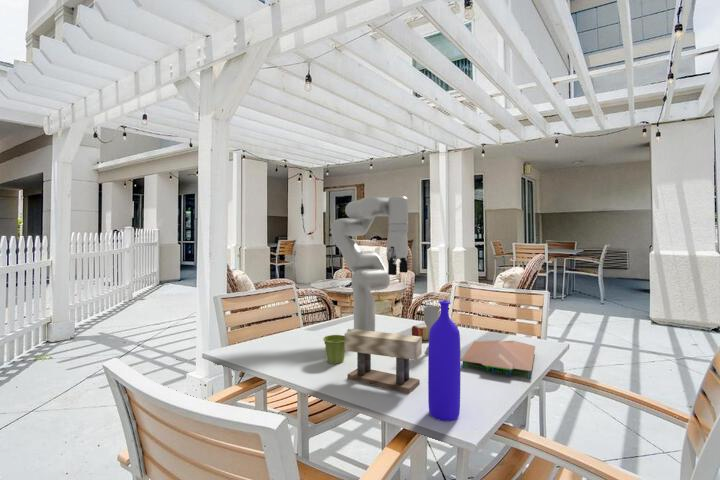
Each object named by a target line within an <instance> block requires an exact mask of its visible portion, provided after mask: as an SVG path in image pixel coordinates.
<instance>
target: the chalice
mask: <svg viewBox="0 0 720 480" xmlns="http://www.w3.org/2000/svg"><path fill="white" fill-rule="evenodd" d="M422 309H423V321H424V323H425V324H424V325H426V326H427V329H428V330H429V331H430V328H431V327H432V325H433V324H434V323H435V322H436V321H437V320H438V318H439V317H440V313H439V312H440V311H441V306H440V307H439V306H435V305H426V306H422ZM428 351H429V345H428V346H427V347H426V349H425V351H424V353H425V354H426V355H428Z"/></svg>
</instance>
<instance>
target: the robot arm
mask: <svg viewBox="0 0 720 480" xmlns="http://www.w3.org/2000/svg"><path fill="white" fill-rule="evenodd" d="M344 210H345V215H346V216H347V217H345V218H344V217H343V218H337V219H336V220H333V221H332V222H331V226H330V233H331V237H332V240H333V242H334V244H335V245H336V247H337V248H338V250H339V251H340V253H341V255H342V258H343V260H344V261H345V264H346V266H347V268H348V269H349V271H351V272H352V275H351V280H350V281H351V286H352V295H353V296H352V297H353V328H352V329H357V330H366V331H375V332H376V299H375V297H374V296H373V294H372V292H373V291H381V290H386V289H387V288H389V286H390V283H391V277H390V275H391V276H396V275H397V271H398V269H397V267H399V273H403V274H404V273H406V274H407V273H408V261H409V253H410V252H409V243H408V242H409V239H408V233H409V199H408V197H406V196H403V195H401V196H400V195H399V196H397V195H395V196H394V195H393V196H390V197H383V196H368V197H363V198H361V199H360V200H359V199H358V200H353V201H350V202H348V203H347V204H346V205H345V209H344ZM376 217H388V219H387V220H388V221H387V222H388V223H387V224H388V225H387V227H388V230H387V232H388V233H387V239H386V261H387V265H388V268H386V266H385V265H384V263H383V260H382V259H381V257H380V255H379V254H378V253H377V252H375V251H370V250H367V251H366V250H365V251H363V250H361V249H360V247H359V245H358V243H357V242H356V241H355V240H354V239H352V238H351V237H362V236H365V235H366V234H367V232H368V231H369V229H370V228H371V226H372V224H373V223H374V220H375V218H376ZM398 259H399V266H397V261H398ZM387 269H388V270H387ZM352 329H351V328H348V329H347V331H346V333H347V332H349V331H350V330H352Z"/></svg>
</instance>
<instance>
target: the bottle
mask: <svg viewBox="0 0 720 480" xmlns="http://www.w3.org/2000/svg"><path fill="white" fill-rule="evenodd" d="M438 304H439V305H440V313H439V318H438V320H437V321H436V322H435V323H434V324H433V325H432V327H431V328H430V331H429V340H428V346H429V351H428V354H427V355H428V356H427V357H428V360H427V362H428V363H427V365H428V366H427V367H428V370H427V372H428V373H427V375H428V376H427V378H428V379H427V380H428V382H427V385H428V387H427V388H428V389H427V394H428V399H427V400H428V401H427V402H428V412H429V413H428V414H429V415H430V416H431V417H432V418H433V419H436V420H438V421H443V422H452V421H456V420H457V419H458V418H459V416H460V411H461V361H460V360H461V335H460V333H461V332H460V330H459V327H458V328H457V327H456V325H457V324H456V323H455V322H454V321H453V320H452V319H451V318H450V316H449V315H450V314H449V305H450V304H451V301H449V300H442V299H441V300H438ZM455 324H456V325H455Z"/></svg>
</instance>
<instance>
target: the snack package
mask: <svg viewBox="0 0 720 480" xmlns="http://www.w3.org/2000/svg"><path fill="white" fill-rule="evenodd" d="M454 324H455V325H456V327H457V328H458V329H459V327H458V325H457V324H456V323H454ZM411 336H420V337H422V342H423V341H429V330H428V329H427V326H426V324H414V325H412V326H411Z"/></svg>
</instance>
